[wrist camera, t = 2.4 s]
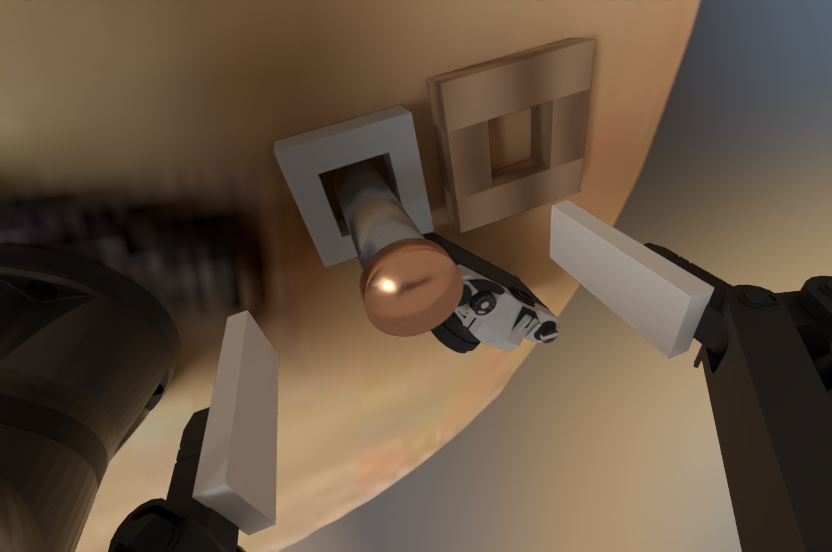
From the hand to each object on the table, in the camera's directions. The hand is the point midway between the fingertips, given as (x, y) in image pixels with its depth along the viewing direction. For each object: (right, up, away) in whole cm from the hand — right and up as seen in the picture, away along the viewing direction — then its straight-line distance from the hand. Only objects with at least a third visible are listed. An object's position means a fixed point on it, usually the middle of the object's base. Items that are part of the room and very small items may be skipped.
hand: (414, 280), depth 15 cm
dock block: (+6, +10, +11) cm, 16 cm away
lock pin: (-4, +7, +9) cm, 12 cm away
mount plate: (-4, +7, +9) cm, 12 cm away
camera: (+4, 0, +17) cm, 18 cm away
